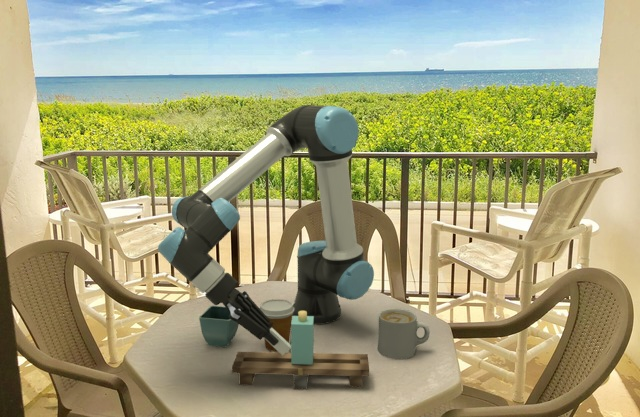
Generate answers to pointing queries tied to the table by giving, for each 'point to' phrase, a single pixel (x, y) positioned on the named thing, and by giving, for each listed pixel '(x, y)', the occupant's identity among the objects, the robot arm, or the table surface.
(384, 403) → the table surface
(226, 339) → the flower pot
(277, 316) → the disposable coffee cup
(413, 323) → the coffee mug
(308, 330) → the block
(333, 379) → the table surface
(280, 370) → the brown flat slatted piece
